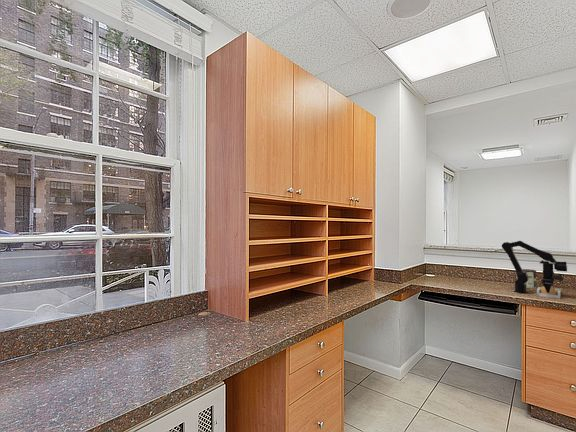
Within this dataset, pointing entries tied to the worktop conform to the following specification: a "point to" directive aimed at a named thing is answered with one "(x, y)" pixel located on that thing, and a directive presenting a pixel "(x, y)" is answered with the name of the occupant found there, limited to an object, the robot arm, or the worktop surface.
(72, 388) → the worktop surface
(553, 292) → the orange stepped block
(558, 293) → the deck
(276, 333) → the worktop surface
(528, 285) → the coffee can
